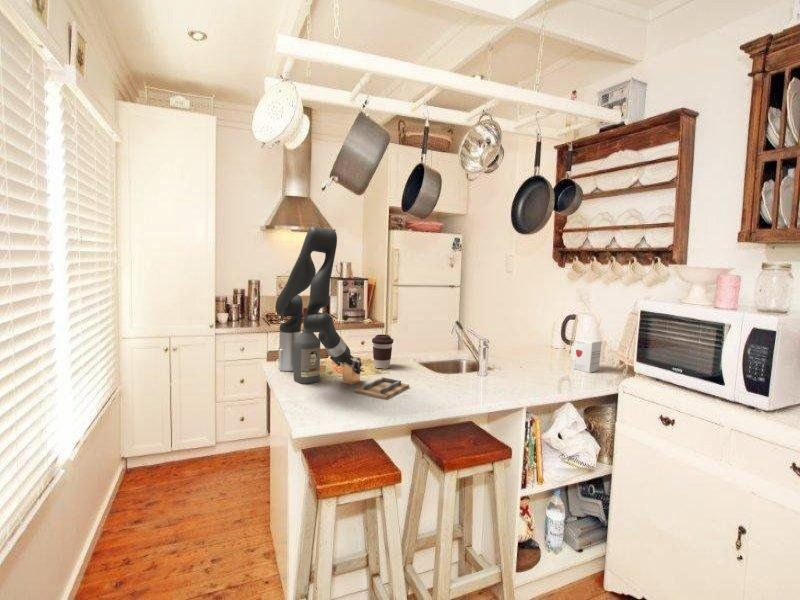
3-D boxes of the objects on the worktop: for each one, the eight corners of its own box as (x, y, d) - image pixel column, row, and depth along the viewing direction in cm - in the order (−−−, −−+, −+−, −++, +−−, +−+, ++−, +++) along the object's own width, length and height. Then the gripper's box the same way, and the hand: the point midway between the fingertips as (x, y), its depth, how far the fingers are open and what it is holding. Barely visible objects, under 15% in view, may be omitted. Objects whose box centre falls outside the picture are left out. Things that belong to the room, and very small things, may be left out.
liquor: (291, 379, 183) (291, 307, 179) (309, 375, 189) (311, 306, 186) (303, 385, 177) (304, 310, 173) (322, 381, 183) (323, 309, 180)
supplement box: (572, 368, 219) (574, 338, 217) (582, 366, 224) (584, 337, 222) (589, 373, 211) (592, 342, 210) (599, 370, 217) (602, 340, 215)
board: (385, 399, 164) (386, 392, 163) (354, 392, 170) (354, 385, 170) (409, 387, 179) (409, 381, 179) (379, 381, 186) (379, 374, 186)
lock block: (351, 384, 179) (352, 360, 178) (342, 382, 182) (343, 359, 180) (360, 381, 185) (360, 357, 183) (351, 379, 187) (351, 356, 186)
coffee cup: (372, 363, 212) (373, 333, 211) (392, 365, 212) (394, 334, 210) (370, 369, 203) (371, 337, 201) (391, 370, 202) (392, 338, 200)
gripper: (356, 342, 171) (372, 366, 183) (327, 337, 178) (344, 361, 190) (347, 359, 167) (364, 382, 179) (318, 353, 174) (336, 376, 186)
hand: (354, 371), depth 184 cm, fingers closed on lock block, 4 cm apart
